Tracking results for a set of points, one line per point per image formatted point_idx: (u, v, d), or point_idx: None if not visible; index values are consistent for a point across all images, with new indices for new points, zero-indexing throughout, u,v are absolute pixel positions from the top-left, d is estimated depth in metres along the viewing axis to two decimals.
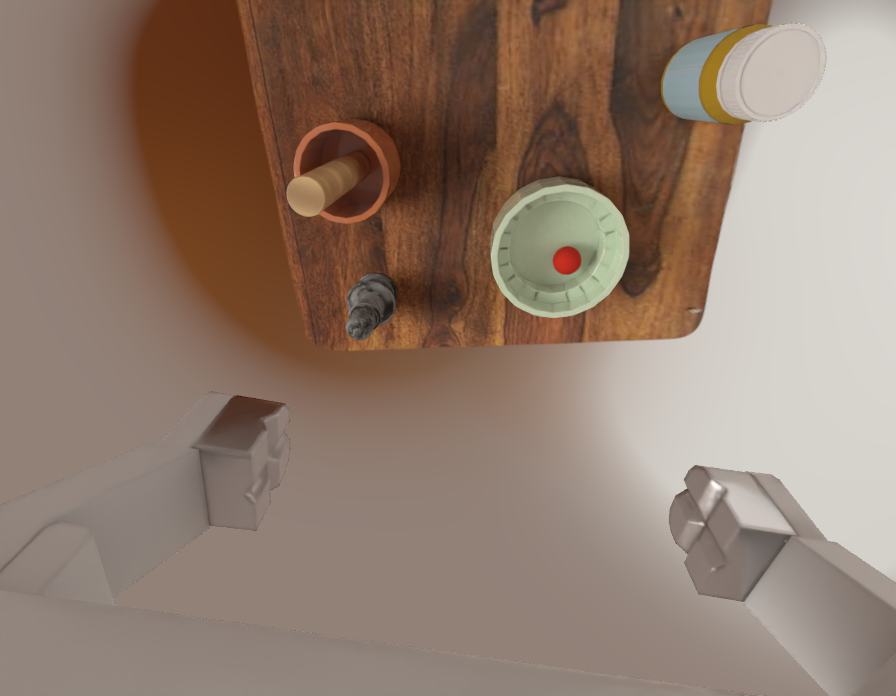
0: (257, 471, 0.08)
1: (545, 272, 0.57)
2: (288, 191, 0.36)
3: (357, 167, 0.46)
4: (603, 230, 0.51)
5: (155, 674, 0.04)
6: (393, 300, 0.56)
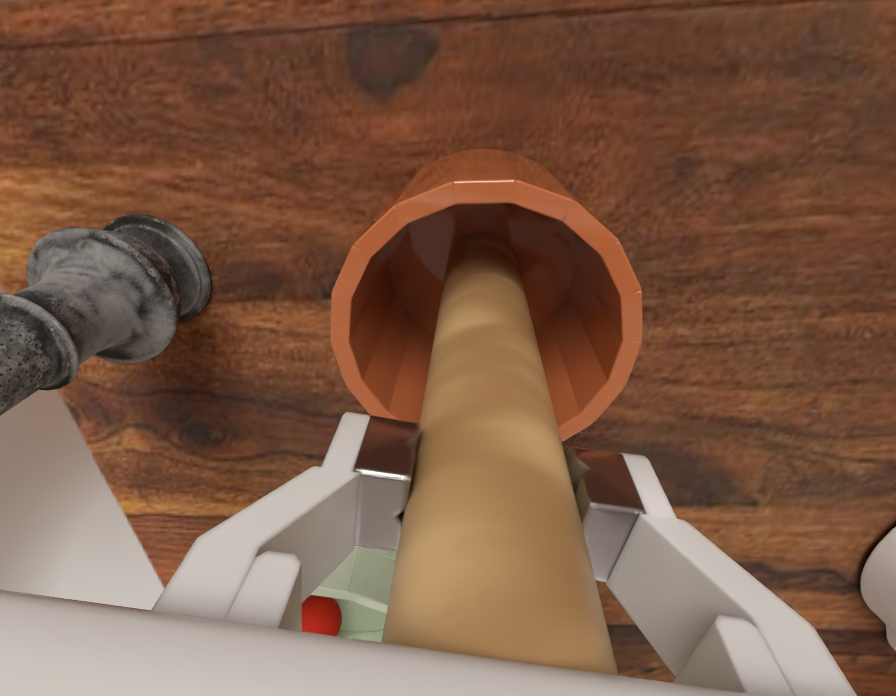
0: None
1: None
2: None
3: None
4: None
5: (155, 674, 0.04)
6: (135, 360, 0.20)
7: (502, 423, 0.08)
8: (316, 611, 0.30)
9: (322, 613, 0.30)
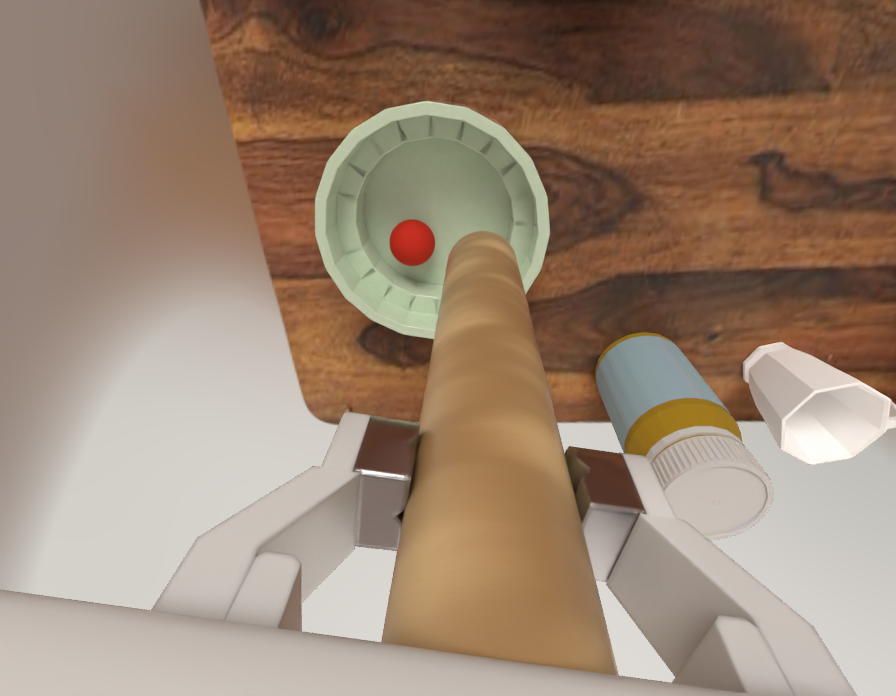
0: None
1: (385, 208, 0.34)
2: None
3: None
4: None
5: (155, 674, 0.04)
6: None
7: (502, 422, 0.08)
8: (415, 221, 0.32)
9: (420, 223, 0.32)
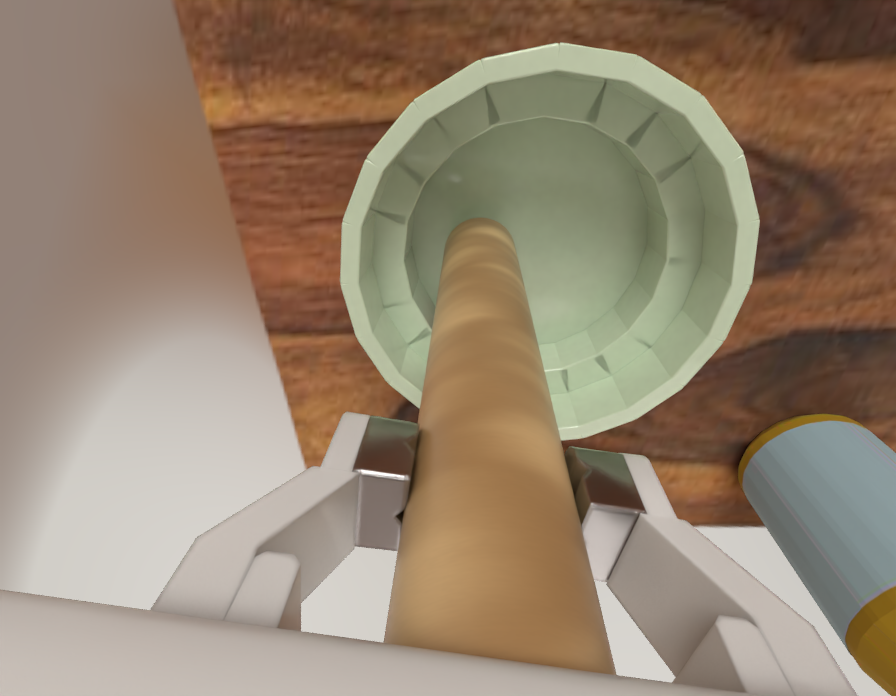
0: (408, 493, 0.08)
1: (446, 232, 0.21)
2: None
3: None
4: (571, 366, 0.21)
5: (155, 674, 0.04)
6: None
7: (500, 425, 0.08)
8: None
9: None
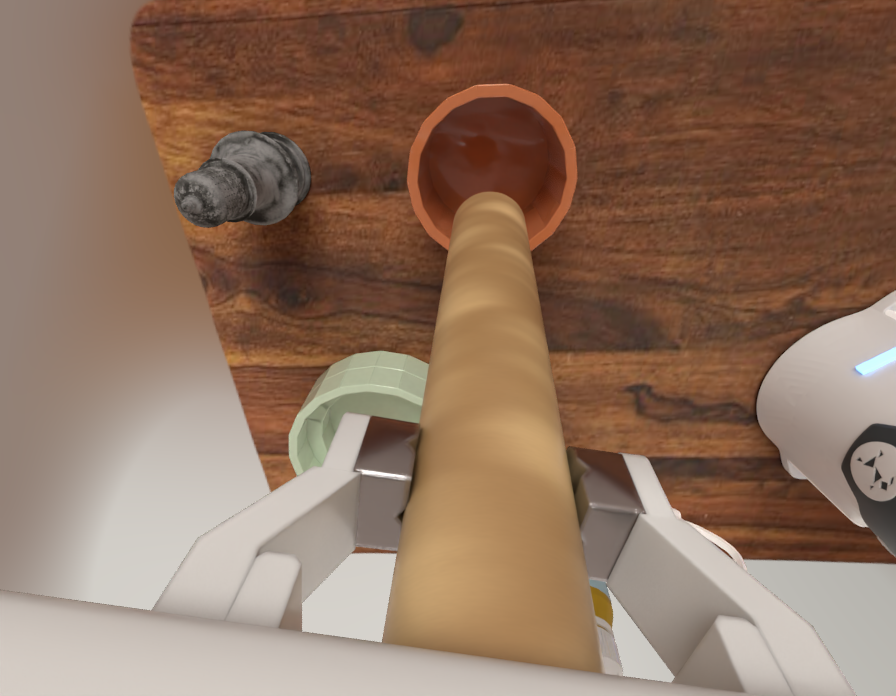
0: (409, 493, 0.08)
1: None
2: None
3: None
4: None
5: (155, 674, 0.04)
6: (269, 222, 0.32)
7: (497, 424, 0.08)
8: None
9: None
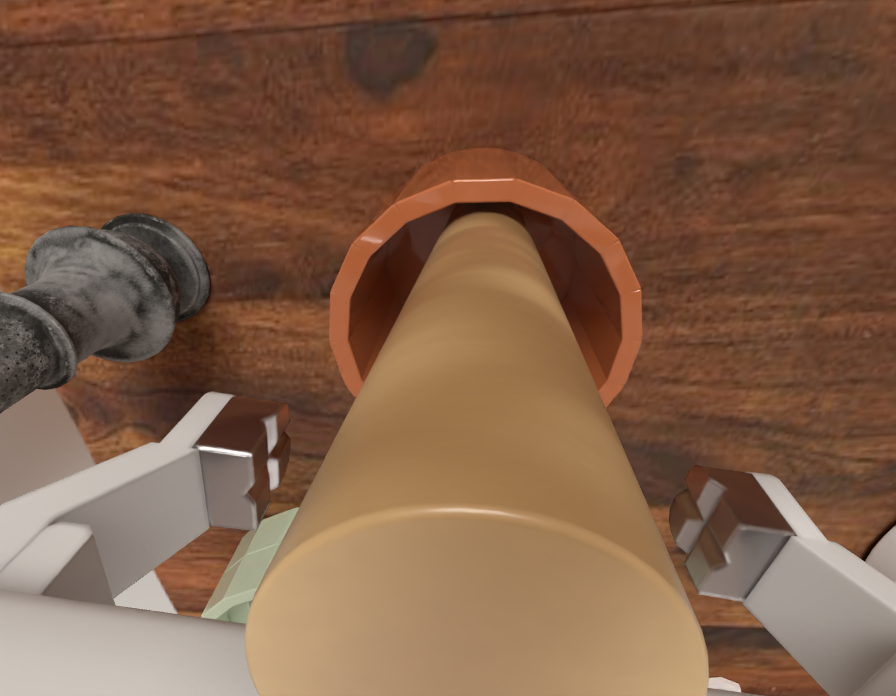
0: (257, 471, 0.08)
1: None
2: (531, 543, 0.03)
3: None
4: None
5: (155, 674, 0.04)
6: (134, 359, 0.20)
7: (489, 271, 0.07)
8: None
9: None
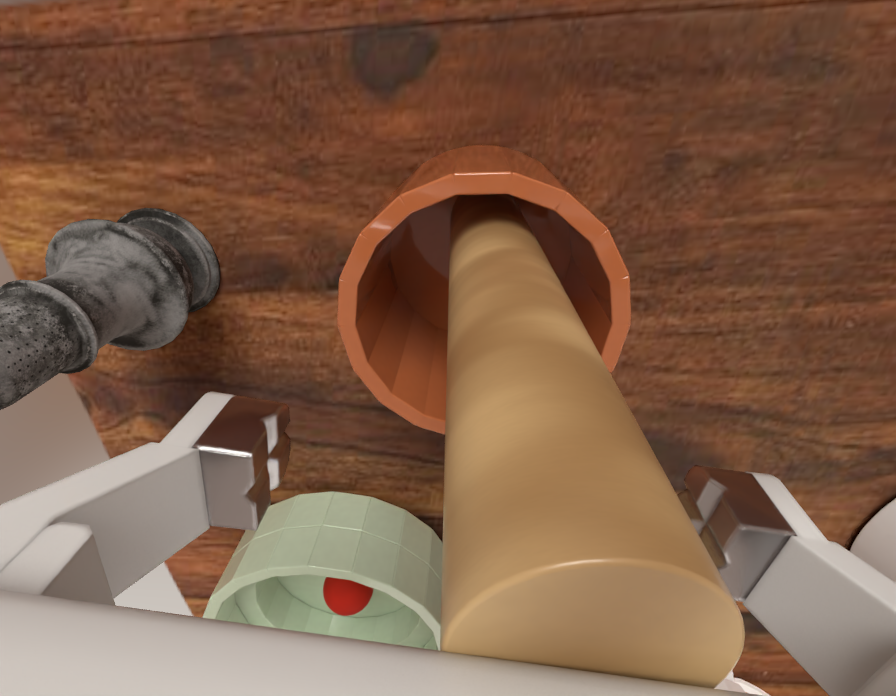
0: (257, 471, 0.08)
1: None
2: (648, 578, 0.04)
3: None
4: None
5: (155, 674, 0.04)
6: (148, 347, 0.21)
7: (536, 316, 0.08)
8: None
9: None
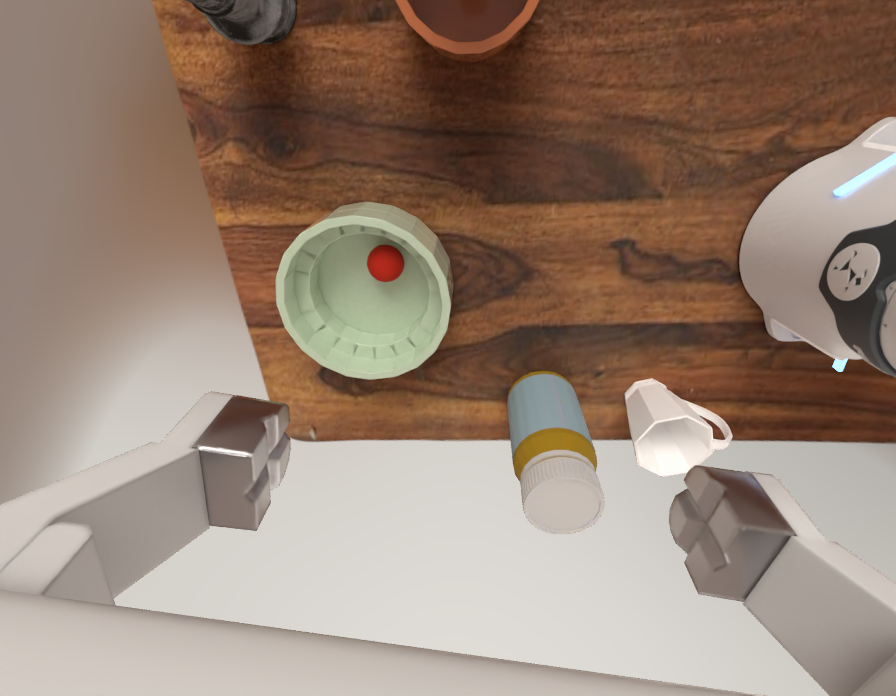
0: (257, 471, 0.08)
1: (334, 277, 0.43)
2: None
3: None
4: (395, 343, 0.43)
5: (155, 674, 0.04)
6: (254, 41, 0.33)
7: None
8: None
9: None
